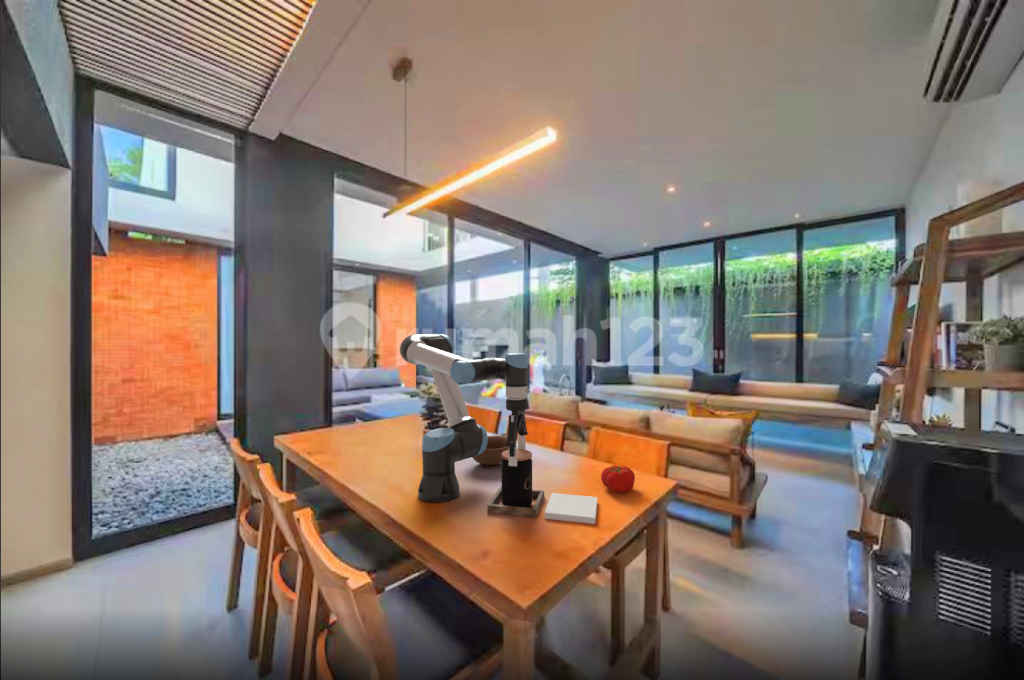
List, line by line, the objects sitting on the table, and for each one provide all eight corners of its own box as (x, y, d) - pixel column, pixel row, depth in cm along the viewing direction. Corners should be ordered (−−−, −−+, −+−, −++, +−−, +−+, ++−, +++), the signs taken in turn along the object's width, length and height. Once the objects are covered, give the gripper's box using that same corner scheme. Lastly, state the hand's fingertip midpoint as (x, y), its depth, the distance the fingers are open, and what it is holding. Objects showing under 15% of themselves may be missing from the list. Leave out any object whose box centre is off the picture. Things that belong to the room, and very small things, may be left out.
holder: (487, 512, 137) (487, 505, 137) (500, 493, 153) (500, 486, 153) (535, 517, 133) (535, 510, 133) (544, 497, 149) (544, 490, 149)
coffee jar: (529, 512, 137) (529, 459, 136) (498, 510, 139) (498, 457, 138) (534, 499, 147) (534, 449, 147) (505, 497, 149) (505, 448, 149)
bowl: (471, 456, 196) (471, 433, 196) (517, 458, 193) (517, 435, 193) (459, 472, 175) (459, 447, 174) (510, 475, 172) (510, 448, 171)
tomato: (608, 481, 165) (608, 459, 164) (640, 488, 157) (640, 465, 157) (594, 492, 153) (594, 469, 153) (627, 500, 146) (627, 476, 146)
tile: (544, 518, 133) (544, 512, 133) (551, 498, 148) (551, 492, 148) (595, 524, 129) (595, 517, 129) (597, 502, 144) (597, 497, 144)
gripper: (519, 405, 129) (520, 472, 129) (534, 392, 153) (534, 449, 154) (496, 404, 131) (497, 470, 131) (514, 392, 155) (515, 448, 155)
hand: (517, 459), depth 142 cm, fingers open, 13 cm apart
